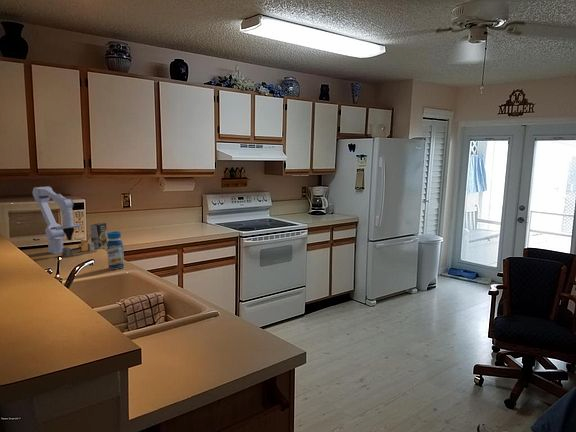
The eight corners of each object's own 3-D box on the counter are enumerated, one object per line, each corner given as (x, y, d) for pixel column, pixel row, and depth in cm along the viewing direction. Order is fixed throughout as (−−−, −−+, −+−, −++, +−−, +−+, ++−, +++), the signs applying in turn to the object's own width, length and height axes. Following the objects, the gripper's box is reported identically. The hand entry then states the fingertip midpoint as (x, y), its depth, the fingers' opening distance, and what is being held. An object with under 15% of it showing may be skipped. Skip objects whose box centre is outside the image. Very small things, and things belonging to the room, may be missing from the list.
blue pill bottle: (128, 266, 241) (125, 231, 239) (118, 270, 233) (115, 234, 230) (114, 265, 244) (112, 230, 241) (105, 269, 236) (102, 233, 233)
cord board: (61, 255, 271) (60, 246, 270) (89, 250, 285) (89, 241, 284) (68, 257, 266) (67, 248, 265) (96, 251, 279) (96, 243, 279)
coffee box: (100, 249, 288) (98, 225, 286) (91, 248, 289) (89, 225, 287) (108, 246, 297) (106, 222, 295) (100, 245, 298) (98, 222, 296)
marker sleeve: (79, 250, 277) (78, 240, 276) (85, 249, 280) (84, 238, 279) (82, 251, 274) (81, 240, 273) (88, 250, 278) (87, 239, 277)
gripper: (58, 220, 262) (60, 242, 264) (82, 217, 273) (84, 238, 275) (53, 219, 266) (55, 241, 268) (76, 216, 277) (78, 237, 279)
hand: (69, 240), depth 272 cm, fingers closed
